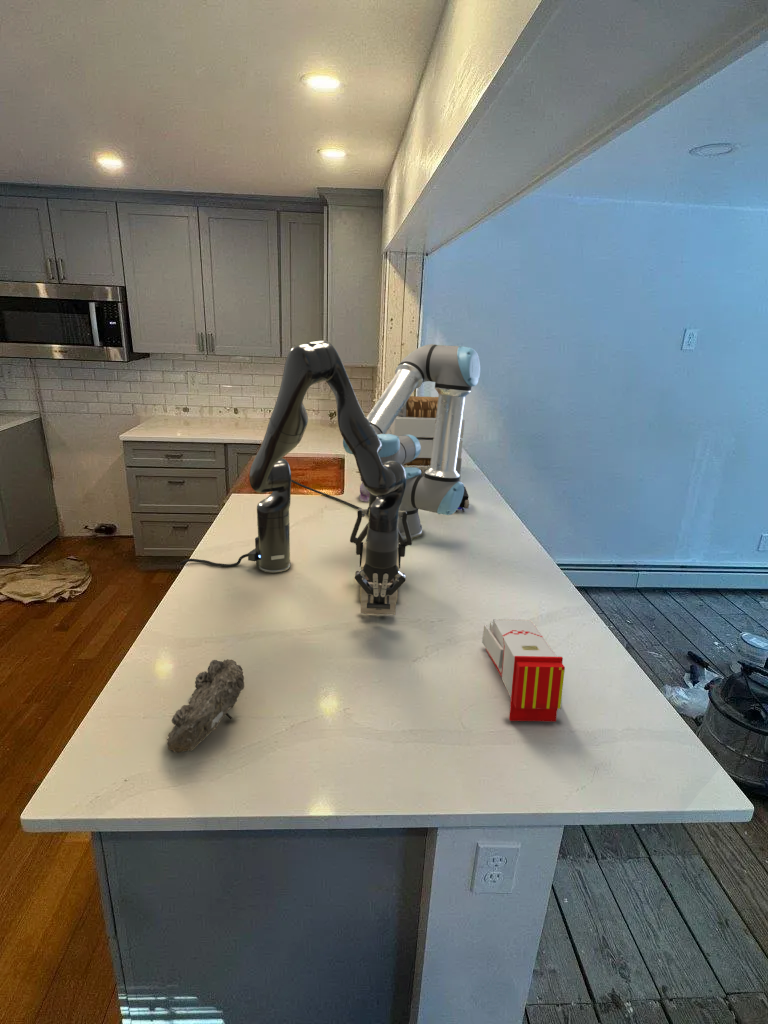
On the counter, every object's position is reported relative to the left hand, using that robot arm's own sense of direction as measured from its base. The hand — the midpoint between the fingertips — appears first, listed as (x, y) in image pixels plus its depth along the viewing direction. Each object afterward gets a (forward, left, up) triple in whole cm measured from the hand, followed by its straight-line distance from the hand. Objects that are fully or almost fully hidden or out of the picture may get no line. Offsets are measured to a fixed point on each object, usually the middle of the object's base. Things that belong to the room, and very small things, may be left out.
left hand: (378, 608), depth 141 cm
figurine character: (-1, +97, -5) cm, 97 cm away
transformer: (-30, +139, -5) cm, 142 cm away
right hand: (-8, +22, +1) cm, 23 cm away
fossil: (-17, -44, -5) cm, 48 cm away
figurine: (-38, +91, -5) cm, 99 cm away
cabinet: (-6, +18, -5) cm, 20 cm away
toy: (+35, -9, -5) cm, 37 cm away
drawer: (-3, +8, -4) cm, 9 cm away
